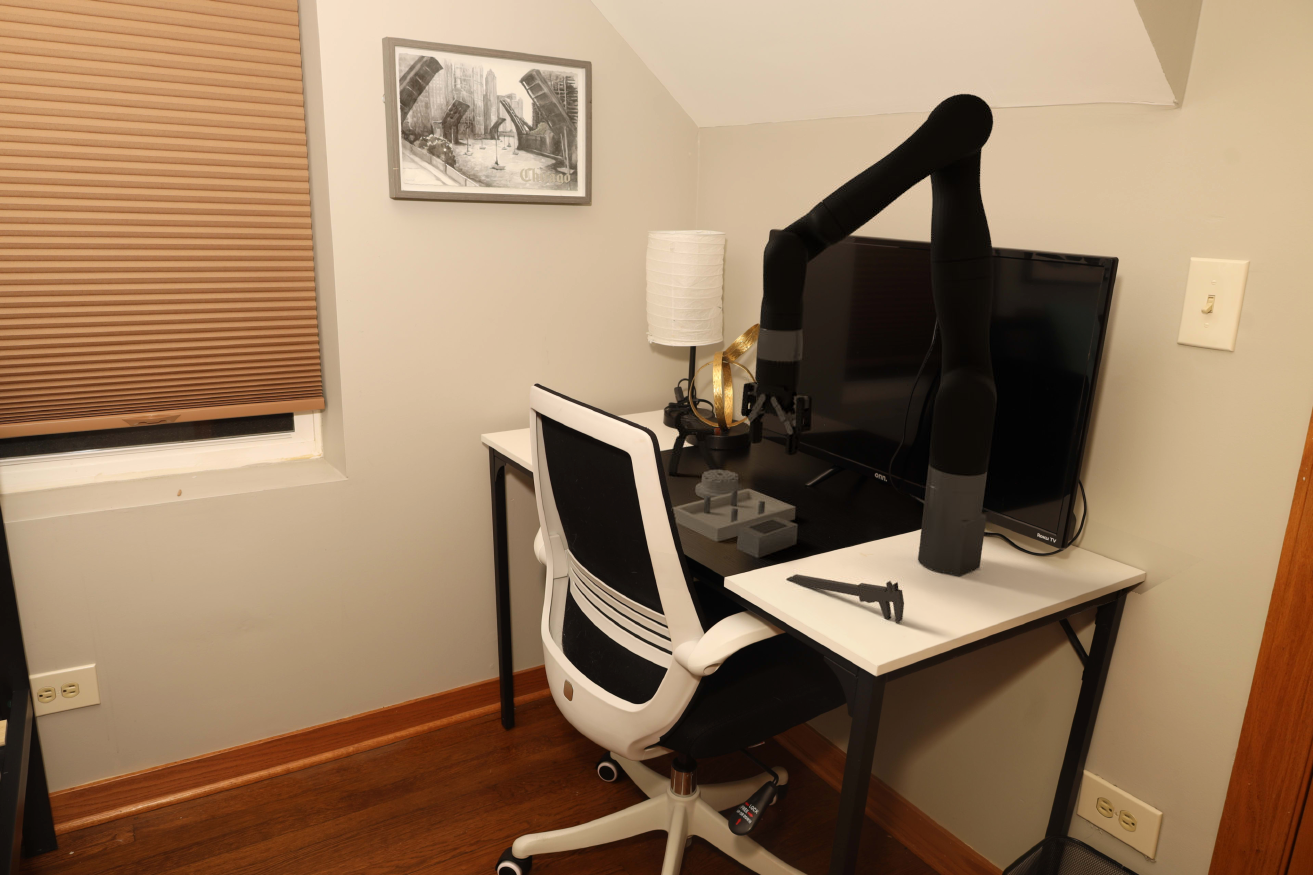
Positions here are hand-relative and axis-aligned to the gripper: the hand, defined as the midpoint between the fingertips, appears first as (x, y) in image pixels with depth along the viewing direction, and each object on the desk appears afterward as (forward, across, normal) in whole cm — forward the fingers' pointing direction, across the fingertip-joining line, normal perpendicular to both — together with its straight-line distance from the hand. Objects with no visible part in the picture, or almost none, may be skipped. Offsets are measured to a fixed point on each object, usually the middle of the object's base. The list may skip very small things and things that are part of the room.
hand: (773, 448), depth 149 cm
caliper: (+18, -22, +6) cm, 29 cm away
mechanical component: (+19, +26, -12) cm, 34 cm away
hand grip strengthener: (+18, +37, -15) cm, 44 cm away
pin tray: (+18, +13, -4) cm, 23 cm away
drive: (+18, 0, 0) cm, 18 cm away
